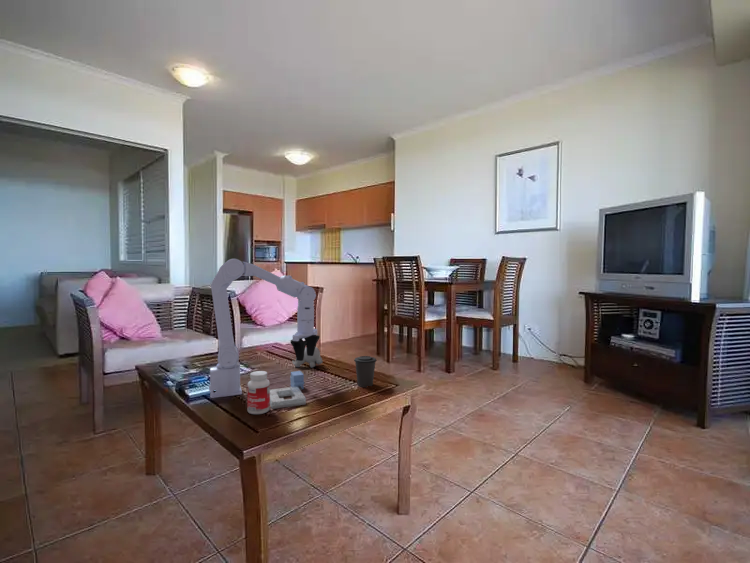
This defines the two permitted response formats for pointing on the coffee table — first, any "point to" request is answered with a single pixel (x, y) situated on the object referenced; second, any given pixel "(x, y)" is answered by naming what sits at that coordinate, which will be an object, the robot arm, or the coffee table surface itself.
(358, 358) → the coffee cup
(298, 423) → the coffee table surface
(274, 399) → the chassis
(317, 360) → the round bodied animal figurine
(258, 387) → the pill bottle
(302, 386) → the block
